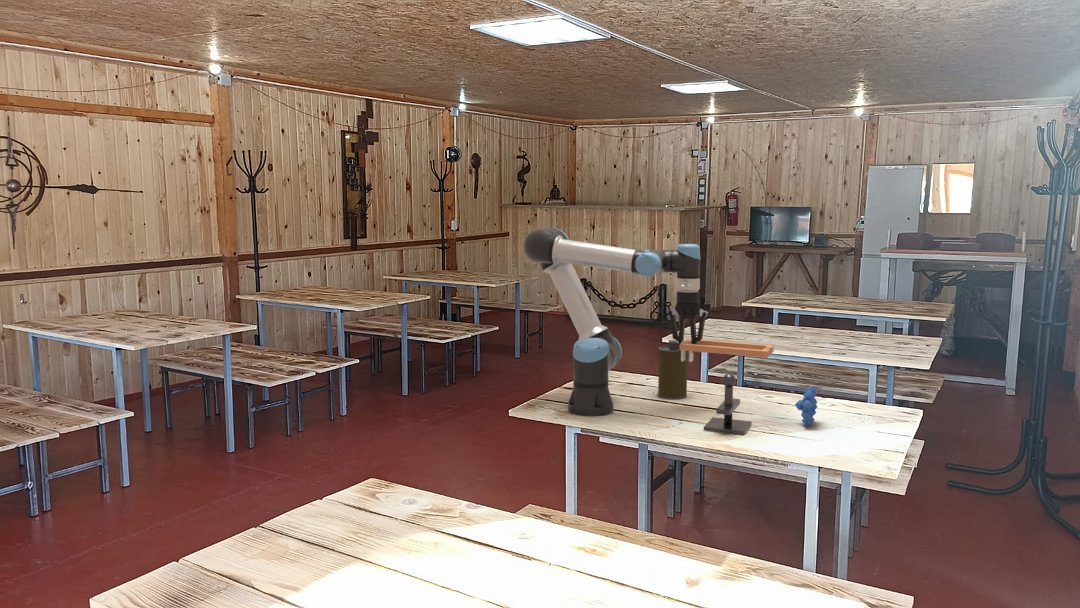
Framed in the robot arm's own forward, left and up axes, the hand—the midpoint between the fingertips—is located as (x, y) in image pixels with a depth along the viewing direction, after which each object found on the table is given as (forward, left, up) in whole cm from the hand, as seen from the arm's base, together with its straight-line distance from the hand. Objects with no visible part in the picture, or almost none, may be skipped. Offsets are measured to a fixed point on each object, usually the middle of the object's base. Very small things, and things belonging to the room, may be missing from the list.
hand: (687, 360), depth 264 cm
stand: (+18, -18, -16) cm, 30 cm away
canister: (-9, +15, -16) cm, 24 cm away
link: (+13, 0, +4) cm, 14 cm away
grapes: (+39, -4, -16) cm, 42 cm away
